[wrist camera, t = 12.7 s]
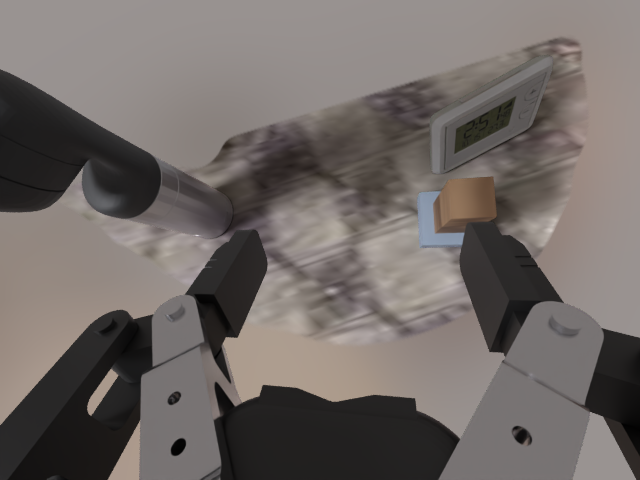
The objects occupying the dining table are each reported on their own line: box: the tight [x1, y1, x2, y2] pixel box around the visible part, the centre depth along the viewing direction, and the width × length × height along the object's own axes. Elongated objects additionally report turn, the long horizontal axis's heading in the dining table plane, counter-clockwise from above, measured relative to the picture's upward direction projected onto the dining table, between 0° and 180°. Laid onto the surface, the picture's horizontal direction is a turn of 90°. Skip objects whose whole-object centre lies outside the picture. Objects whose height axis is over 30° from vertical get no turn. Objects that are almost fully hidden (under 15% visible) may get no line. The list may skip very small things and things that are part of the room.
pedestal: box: [417, 191, 464, 248], centre depth 41 cm, size 8×8×3 cm
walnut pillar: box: [433, 177, 497, 234], centre depth 35 cm, size 4×4×10 cm
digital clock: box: [430, 55, 553, 174], centre depth 39 cm, size 16×9×11 cm, turn 105°
